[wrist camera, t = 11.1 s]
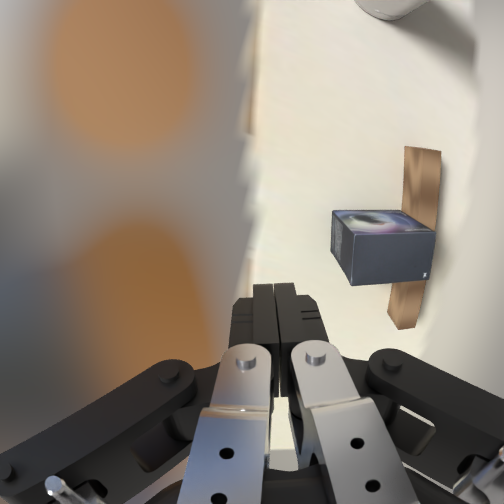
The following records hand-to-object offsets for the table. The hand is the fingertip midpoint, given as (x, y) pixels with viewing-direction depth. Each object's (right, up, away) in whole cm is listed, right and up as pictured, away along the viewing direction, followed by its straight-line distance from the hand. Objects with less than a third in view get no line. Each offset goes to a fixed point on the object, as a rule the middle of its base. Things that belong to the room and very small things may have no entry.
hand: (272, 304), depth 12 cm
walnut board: (+22, +4, +29) cm, 37 cm away
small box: (+15, +5, +29) cm, 33 cm away
